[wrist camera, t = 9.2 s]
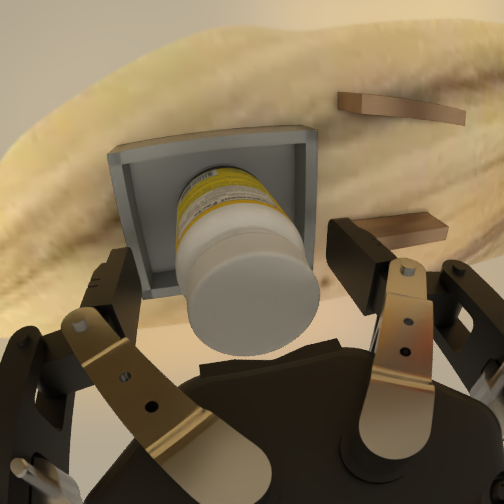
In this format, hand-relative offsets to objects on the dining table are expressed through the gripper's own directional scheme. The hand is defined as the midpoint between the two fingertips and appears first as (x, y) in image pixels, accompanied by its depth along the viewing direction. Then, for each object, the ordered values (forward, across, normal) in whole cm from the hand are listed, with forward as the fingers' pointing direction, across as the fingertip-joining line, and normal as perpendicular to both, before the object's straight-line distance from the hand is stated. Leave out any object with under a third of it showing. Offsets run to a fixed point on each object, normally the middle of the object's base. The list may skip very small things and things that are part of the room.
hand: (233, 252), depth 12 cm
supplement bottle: (+5, 0, 0) cm, 5 cm away
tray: (+5, 0, 0) cm, 5 cm away
